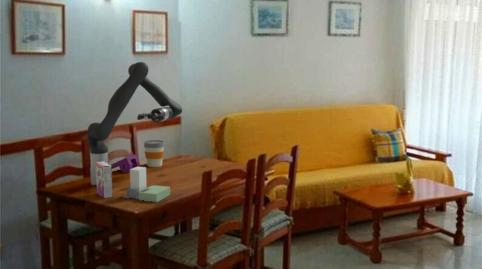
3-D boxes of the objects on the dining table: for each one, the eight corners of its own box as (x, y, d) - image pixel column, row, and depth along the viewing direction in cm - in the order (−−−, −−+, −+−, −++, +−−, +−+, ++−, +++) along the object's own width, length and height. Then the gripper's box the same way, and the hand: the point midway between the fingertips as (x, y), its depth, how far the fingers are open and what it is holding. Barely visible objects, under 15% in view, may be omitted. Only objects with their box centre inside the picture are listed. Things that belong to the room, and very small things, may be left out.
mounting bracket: (110, 180, 326) (131, 170, 318) (105, 167, 326) (126, 157, 318) (120, 176, 334) (141, 167, 326) (115, 164, 335) (136, 154, 326)
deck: (137, 191, 280) (136, 182, 279) (170, 194, 274) (170, 186, 273) (122, 198, 267) (122, 189, 266) (156, 202, 261) (156, 193, 260)
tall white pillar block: (138, 193, 276) (137, 166, 274) (146, 194, 274) (145, 167, 272) (130, 196, 270) (129, 169, 267) (139, 197, 268) (138, 170, 266)
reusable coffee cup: (168, 164, 341) (168, 141, 339) (155, 168, 331) (155, 144, 328) (153, 162, 348) (153, 139, 345) (140, 166, 338) (139, 142, 335)
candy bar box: (96, 193, 275) (94, 162, 272) (105, 192, 278) (104, 161, 275) (103, 199, 266) (102, 166, 263) (113, 197, 269) (112, 165, 266)
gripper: (148, 107, 305) (133, 110, 290) (170, 108, 300) (156, 112, 285) (148, 120, 306) (133, 124, 291) (171, 122, 301) (157, 126, 286)
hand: (145, 118), depth 288 cm, fingers open, 8 cm apart
